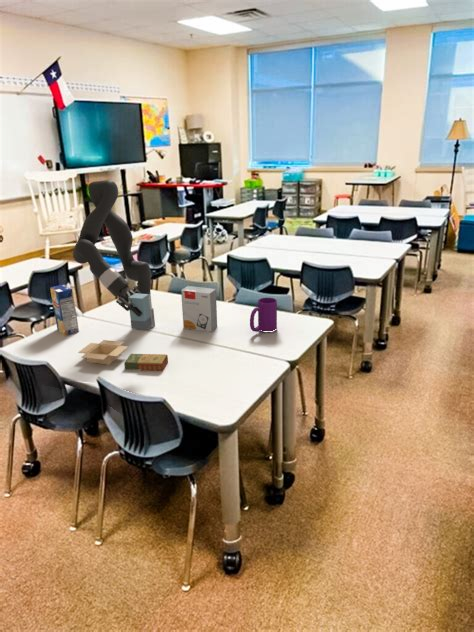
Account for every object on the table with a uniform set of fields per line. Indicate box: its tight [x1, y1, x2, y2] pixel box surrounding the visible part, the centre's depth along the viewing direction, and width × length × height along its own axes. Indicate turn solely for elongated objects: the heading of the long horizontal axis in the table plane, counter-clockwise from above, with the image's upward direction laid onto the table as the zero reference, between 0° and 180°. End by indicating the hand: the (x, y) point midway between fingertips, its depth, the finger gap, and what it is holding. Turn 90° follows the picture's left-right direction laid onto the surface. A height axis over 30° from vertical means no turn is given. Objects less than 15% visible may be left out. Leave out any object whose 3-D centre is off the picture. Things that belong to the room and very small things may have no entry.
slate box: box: [128, 293, 152, 331], centre depth 186 cm, size 6×6×13 cm
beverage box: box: [49, 284, 80, 336], centre depth 230 cm, size 7×11×22 cm, turn 39°
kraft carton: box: [78, 339, 129, 365], centre depth 201 cm, size 18×18×5 cm
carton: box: [124, 353, 169, 373], centre depth 194 cm, size 8×16×4 cm, turn 83°
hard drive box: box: [180, 285, 218, 333], centre depth 229 cm, size 16×8×20 cm, turn 68°
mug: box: [249, 297, 278, 333], centre depth 223 cm, size 9×16×15 cm, turn 131°
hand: (144, 312), depth 186 cm, fingers closed on slate box, 5 cm apart
